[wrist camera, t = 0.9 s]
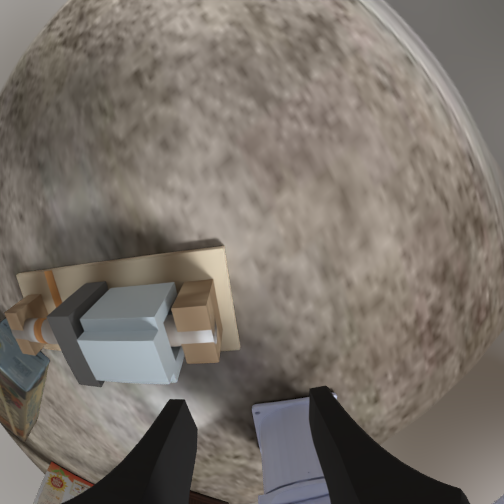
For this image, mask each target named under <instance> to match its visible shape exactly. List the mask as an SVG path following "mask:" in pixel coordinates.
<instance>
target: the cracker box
mask: <svg viewBox="0 0 504 504" xmlns="http://www.w3.org/2000/svg"><path fill="white" fill-rule="evenodd" d="M92 486H93V484H91V483H89V482H87V481H85V480H83V479H81V478H79V477H78V476H76V475H74V474H72V473H70V472H69V471H67V470H65V469H63V468H62V467H60V466H58V465H57V464H55V463H53V462H51V464H50V466H49V468H48V470H47V472H46V474H45V477H44V479H43V481H42V484H41V486H40V488H39V490H38V493H37V495H36V498H35V500H34V503H33V504H61V503H63V502H65V501H68V500H70V499H72V498H74V497H76V496H77V495H79V494H81V493H82V492H84V491H86V490H87V489H89V488H90V487H92Z"/></svg>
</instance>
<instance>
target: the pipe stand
mask: <svg viewBox="0 0 504 504" xmlns="http://www.w3.org/2000/svg"><path fill="white" fill-rule="evenodd" d="M16 277H17V280H18V283H19V286H20V289H21V292H22V295H23V299H22V300H21V301H19V302H18V303H17V304H15V305H14V306H13V307H11V308H10V309H9V310H7V311H6V312H5V313H4V314H5V316H6V319H7V321H8V323H9V326H10V328H11V331H12V334H13V336H14V337H15V339H16V341H17V343H18V345H19V347H20V349H21V351H22V353H23V354H28V355H34V356H36V355H37V354H38V352H39V351H40V350H41V349H42V348H43V347H45V349H50V350H59V351H61V349H60V347H59V345H58V342H57V340H56V338H55V336H54V334H53V331H52V329H51V327H50V324H49V322H48V320H47V317H46V316H48V315H49V314H50V313H51V312H52V311H53V310H54V309H55V308H57V307H58V306H59V305H60V304H61V303H62V302H64V301H65V300H66V299H67V298H68V297H69V296H71V295H72V294H73V293H74V292H75V291H77V290H78V289H79V288H80V287H81V286H83V285H84V284H85V283H93V282H103V281H106V283H107V287H108V290H109V289H110V288H116V287H128V286H139V285H149V284H159V283H170V282H175V286H176V291H177V295H178V296H177V298H176V300H175V302H174V304H173V306H172V308H171V310H172V314H173V315H167V316H166V318H165V320H164V322H163V324H164V327H165V330H166V334H167V337H168V340H169V343H170V346H171V347H175V346H182V348H183V352H184V355H185V358H186V361H187V364H199V363H217V362H219V358H220V351H232V350H240V340H239V334H238V328H237V323H236V317H235V311H234V305H233V298H232V292H231V286H230V280H229V273H228V267H227V260H226V254H225V247H224V246H218V247H210V248H202V249H194V250H186V251H178V252H170V253H162V254H154V255H147V256H139V257H131V258H124V259H116V260H109V261H101V262H94V263H87V264H79V265H72V266H65V267H58V268H51V269H44V270H37V271H30V272H23V273H19V274H17V275H16Z"/></svg>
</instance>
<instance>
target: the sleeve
mask: <svg viewBox="0 0 504 504" xmlns="http://www.w3.org/2000/svg"><path fill="white" fill-rule="evenodd" d="M177 296H178V295H177V291H176V286H175V282H170V283H159V284H149V285H139V286H128V287H116V288H110V289H109V290H108V291H107V292H106V293H105V294H104V295H103V296H102V297H101V298H100V299H99V300H98V301H97V302H96V303H95V304H94V305H93V306H92V307H91V308H90V309H89V310H88V311H87V312H86V313H85V314H84V315H83V316H82V317H81V318H80V322H81V324H82V327H83V329H84V332H83V333H82V335H81V336H80V337H79V338H78V339H77V342H78V344H79V346H80V348H81V350H82V353H83V355H84V357H85V359H86V361H87V363H88V365H89V367H90V369H91V371H92V373H93V375H94V376H95V378H96V380H100V381H111V382H124V383H142V384H170V382H177V380H178V377H179V373H180V370H181V366H182V363H183V359H184V356H185V355H184V352H183V348H182V346H175V347H171V346H170V343H169V340H168V337H167V334H166V330H165V327H164V324H163V322H164V320H165V318H166V316H167V315H173V314H172V310H171V308H172V306H173V304H174V302H175V300H176V298H177Z"/></svg>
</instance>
